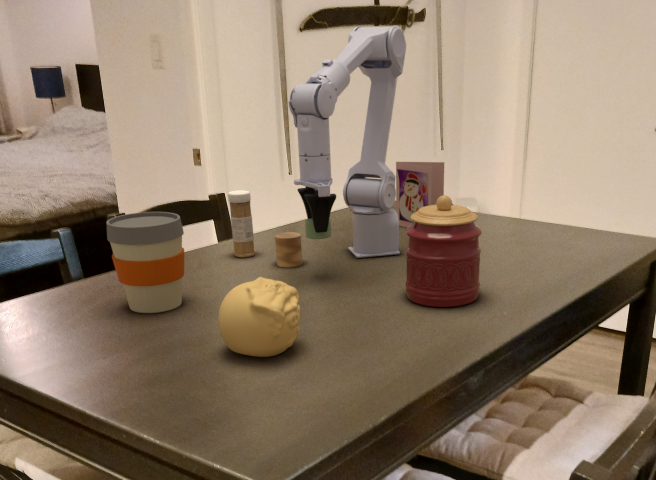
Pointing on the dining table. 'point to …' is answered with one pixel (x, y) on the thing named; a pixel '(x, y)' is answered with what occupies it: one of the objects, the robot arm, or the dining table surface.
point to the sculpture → (260, 317)
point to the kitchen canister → (443, 255)
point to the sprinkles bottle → (241, 223)
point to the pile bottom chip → (289, 259)
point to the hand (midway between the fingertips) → (318, 228)
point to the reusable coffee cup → (148, 259)
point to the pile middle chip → (288, 242)
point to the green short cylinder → (312, 234)
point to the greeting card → (417, 187)
